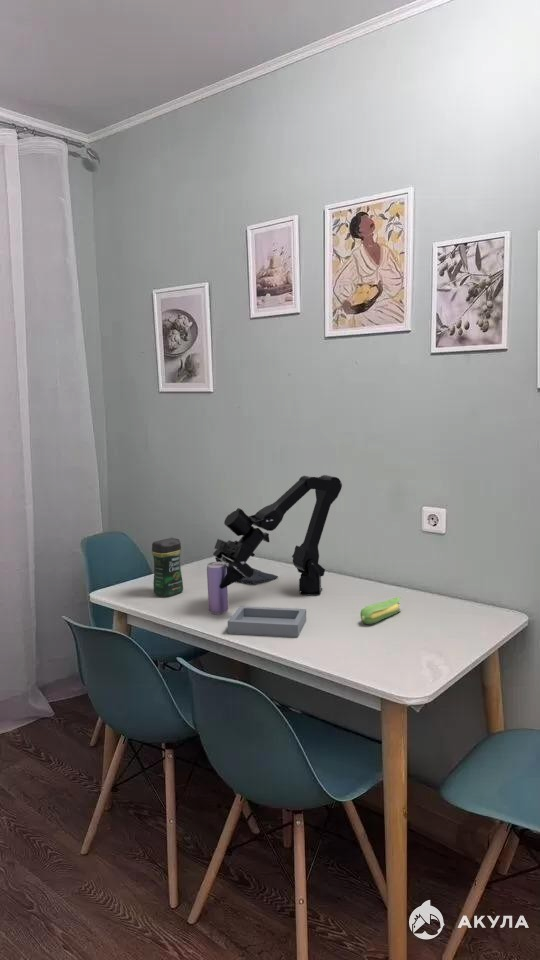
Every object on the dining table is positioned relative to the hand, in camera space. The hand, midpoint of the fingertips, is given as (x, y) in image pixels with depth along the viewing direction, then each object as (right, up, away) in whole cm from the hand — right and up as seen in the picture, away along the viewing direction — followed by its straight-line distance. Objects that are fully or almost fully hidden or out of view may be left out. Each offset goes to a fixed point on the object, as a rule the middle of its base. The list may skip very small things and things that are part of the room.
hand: (216, 585), depth 212 cm
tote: (+16, -10, -13) cm, 23 cm away
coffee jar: (-17, -6, +21) cm, 28 cm away
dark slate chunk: (+7, -3, +37) cm, 38 cm away
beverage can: (+1, -8, +2) cm, 9 cm away
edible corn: (+50, -9, -7) cm, 51 cm away
